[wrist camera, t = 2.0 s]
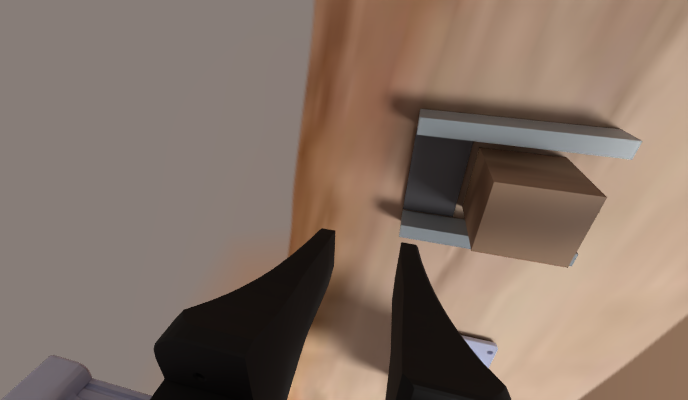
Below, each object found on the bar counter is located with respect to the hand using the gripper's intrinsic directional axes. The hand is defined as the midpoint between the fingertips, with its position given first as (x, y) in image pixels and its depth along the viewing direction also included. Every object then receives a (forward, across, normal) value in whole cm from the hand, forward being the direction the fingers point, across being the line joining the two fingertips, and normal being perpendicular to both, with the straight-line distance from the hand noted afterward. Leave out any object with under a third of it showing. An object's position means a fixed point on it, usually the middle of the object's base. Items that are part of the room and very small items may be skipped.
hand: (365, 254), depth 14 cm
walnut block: (+10, -8, 0) cm, 12 cm away
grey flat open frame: (+9, -7, 0) cm, 12 cm away
